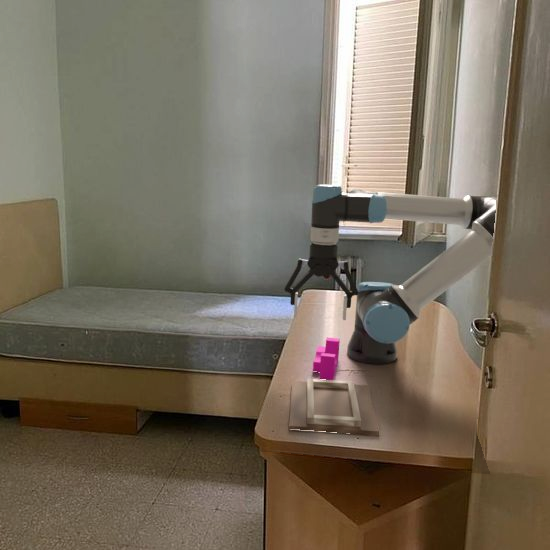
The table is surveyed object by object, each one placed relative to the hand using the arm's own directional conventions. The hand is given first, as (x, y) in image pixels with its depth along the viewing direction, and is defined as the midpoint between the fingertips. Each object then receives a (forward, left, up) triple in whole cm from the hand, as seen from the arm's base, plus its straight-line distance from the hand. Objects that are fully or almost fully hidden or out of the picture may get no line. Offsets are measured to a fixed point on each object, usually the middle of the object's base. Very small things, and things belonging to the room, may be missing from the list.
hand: (319, 317), depth 150 cm
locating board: (-3, +23, -16) cm, 28 cm away
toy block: (-2, 0, -16) cm, 16 cm away
